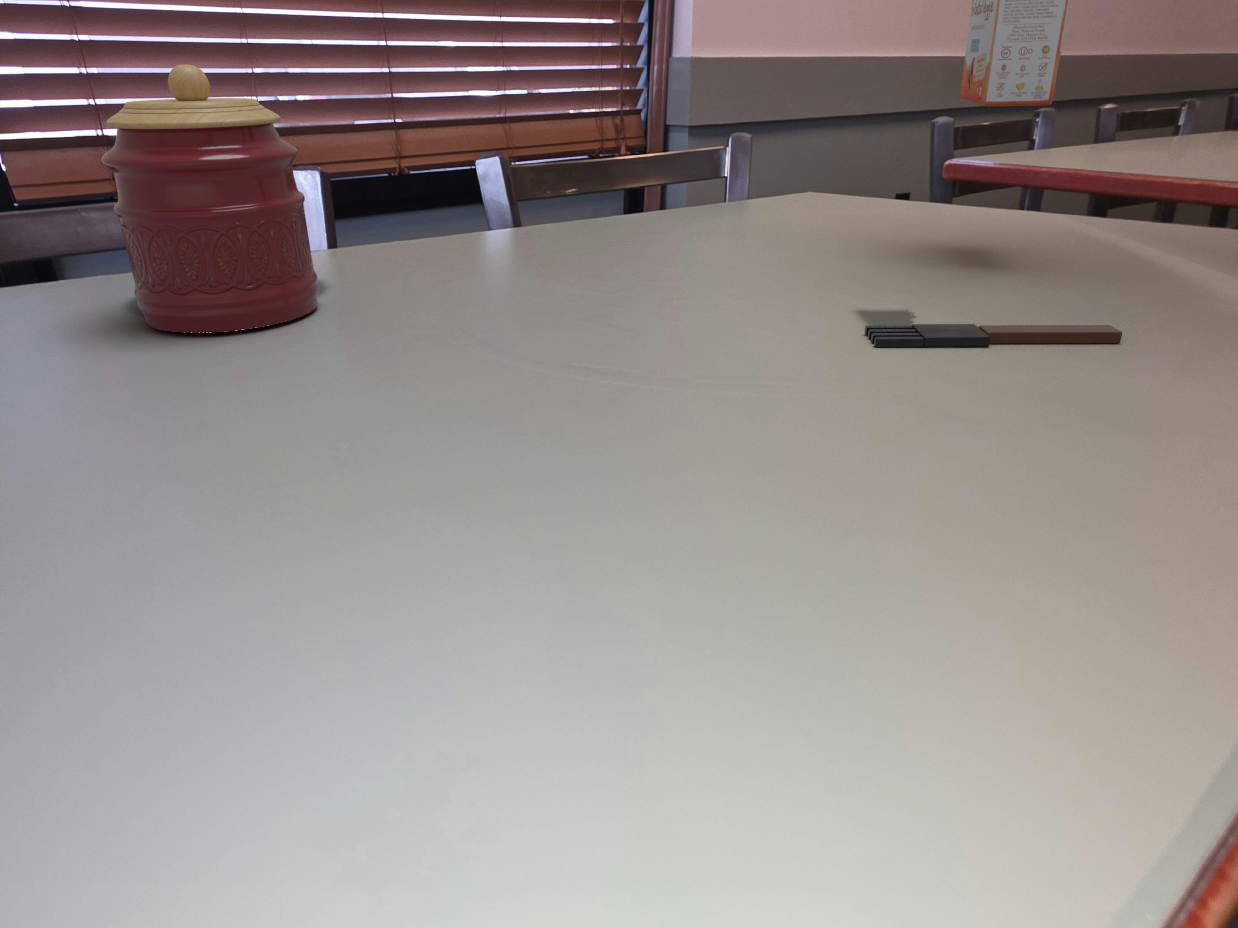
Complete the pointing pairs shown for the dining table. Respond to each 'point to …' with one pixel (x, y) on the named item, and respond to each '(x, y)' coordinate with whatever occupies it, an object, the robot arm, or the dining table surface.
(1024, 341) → the fork
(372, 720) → the dining table surface
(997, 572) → the dining table surface
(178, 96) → the kitchen canister
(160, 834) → the dining table surface
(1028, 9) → the cracker box
